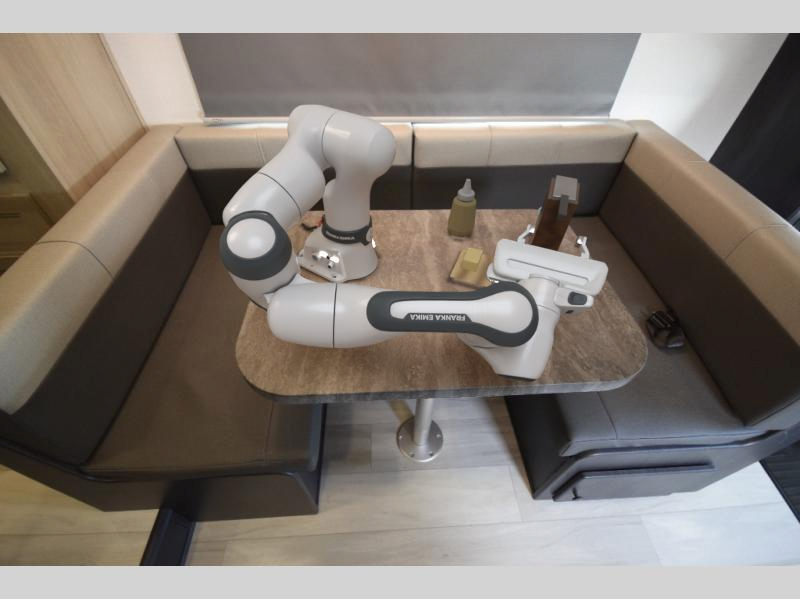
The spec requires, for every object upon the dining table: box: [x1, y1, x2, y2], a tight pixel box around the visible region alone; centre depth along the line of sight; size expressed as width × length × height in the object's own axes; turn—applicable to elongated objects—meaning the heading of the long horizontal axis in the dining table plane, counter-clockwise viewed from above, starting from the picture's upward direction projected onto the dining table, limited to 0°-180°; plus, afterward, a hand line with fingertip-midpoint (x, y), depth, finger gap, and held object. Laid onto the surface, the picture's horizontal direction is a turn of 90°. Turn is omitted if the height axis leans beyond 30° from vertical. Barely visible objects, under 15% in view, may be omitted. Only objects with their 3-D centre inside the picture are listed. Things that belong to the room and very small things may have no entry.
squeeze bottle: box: [447, 178, 477, 238], centre depth 102 cm, size 8×8×18 cm
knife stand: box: [528, 177, 581, 252], centre depth 85 cm, size 8×12×26 cm, turn 158°
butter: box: [462, 246, 484, 272], centre depth 95 cm, size 4×6×3 cm, turn 158°
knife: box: [552, 174, 578, 222], centre depth 73 cm, size 4×18×2 cm, turn 158°
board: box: [449, 248, 494, 288], centre depth 95 cm, size 16×13×2 cm
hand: (556, 231), depth 68 cm, fingers open, 8 cm apart
